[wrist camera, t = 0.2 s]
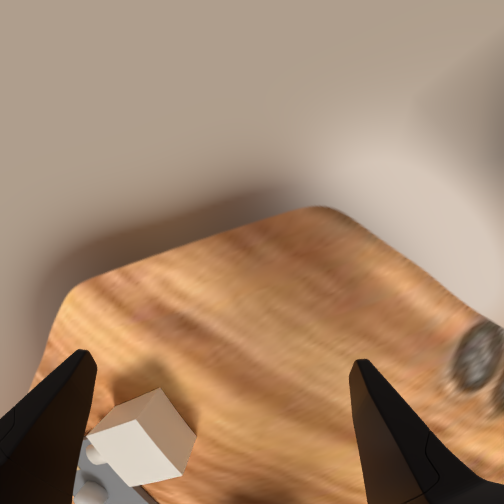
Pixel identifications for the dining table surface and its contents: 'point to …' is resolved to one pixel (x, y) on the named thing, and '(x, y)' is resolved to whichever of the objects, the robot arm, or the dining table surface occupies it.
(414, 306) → the dining table surface
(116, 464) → the cream rectangular block
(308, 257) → the dining table surface
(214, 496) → the dining table surface
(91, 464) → the grey slotted slab
